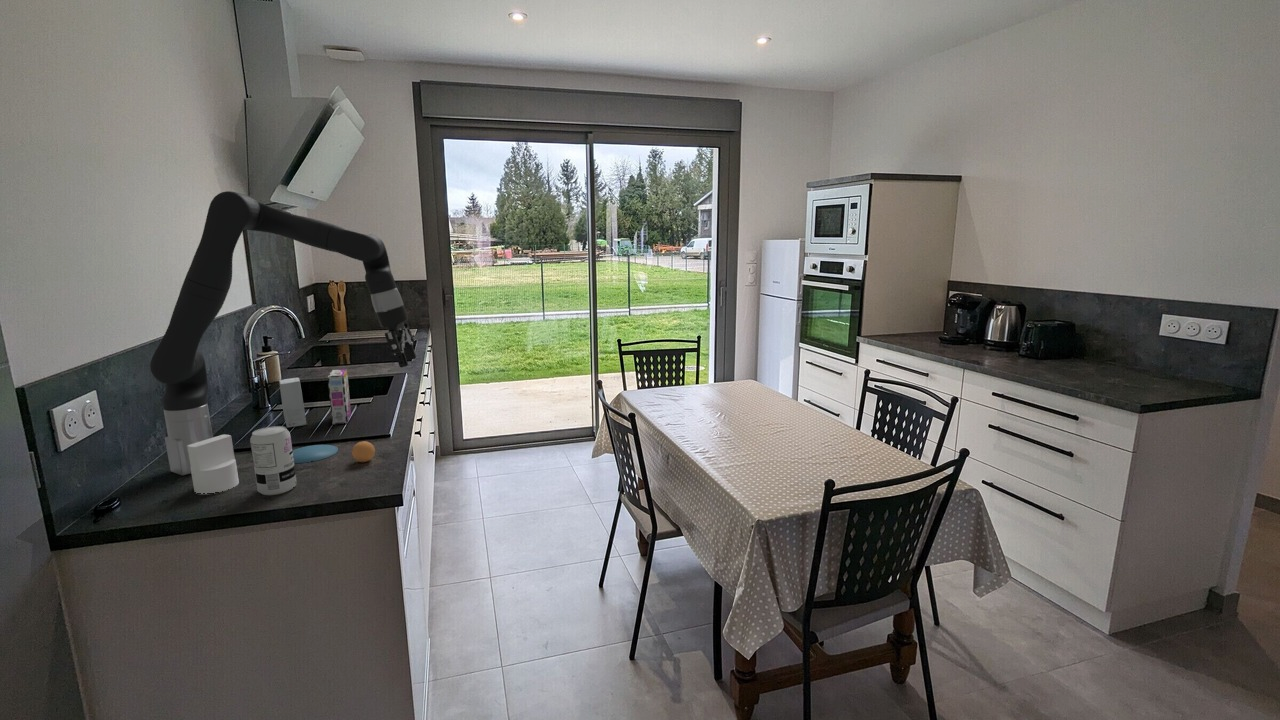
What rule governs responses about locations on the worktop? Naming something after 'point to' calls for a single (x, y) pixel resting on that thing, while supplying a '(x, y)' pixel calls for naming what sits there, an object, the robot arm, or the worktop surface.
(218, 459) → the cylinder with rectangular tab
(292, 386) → the skincare box
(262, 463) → the supplement can
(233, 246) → the robot arm
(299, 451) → the disc
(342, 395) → the candy bar box
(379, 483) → the worktop surface
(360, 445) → the ball
